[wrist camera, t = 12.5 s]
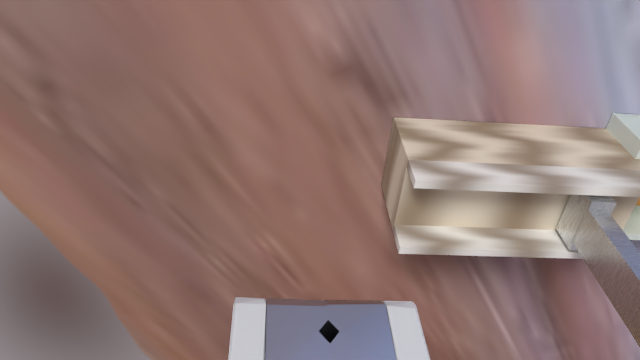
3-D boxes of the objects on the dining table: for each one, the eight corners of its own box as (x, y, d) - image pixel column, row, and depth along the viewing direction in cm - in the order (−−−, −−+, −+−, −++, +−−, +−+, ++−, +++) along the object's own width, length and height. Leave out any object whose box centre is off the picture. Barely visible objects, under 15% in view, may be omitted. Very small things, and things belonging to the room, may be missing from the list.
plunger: (547, 228, 42) (652, 402, 30) (567, 180, 39) (690, 350, 28) (582, 229, 42) (700, 402, 30) (604, 182, 40) (742, 351, 28)
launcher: (381, 184, 46) (398, 253, 40) (393, 117, 43) (415, 180, 36) (584, 192, 48) (634, 260, 41) (612, 128, 45) (673, 191, 38)
